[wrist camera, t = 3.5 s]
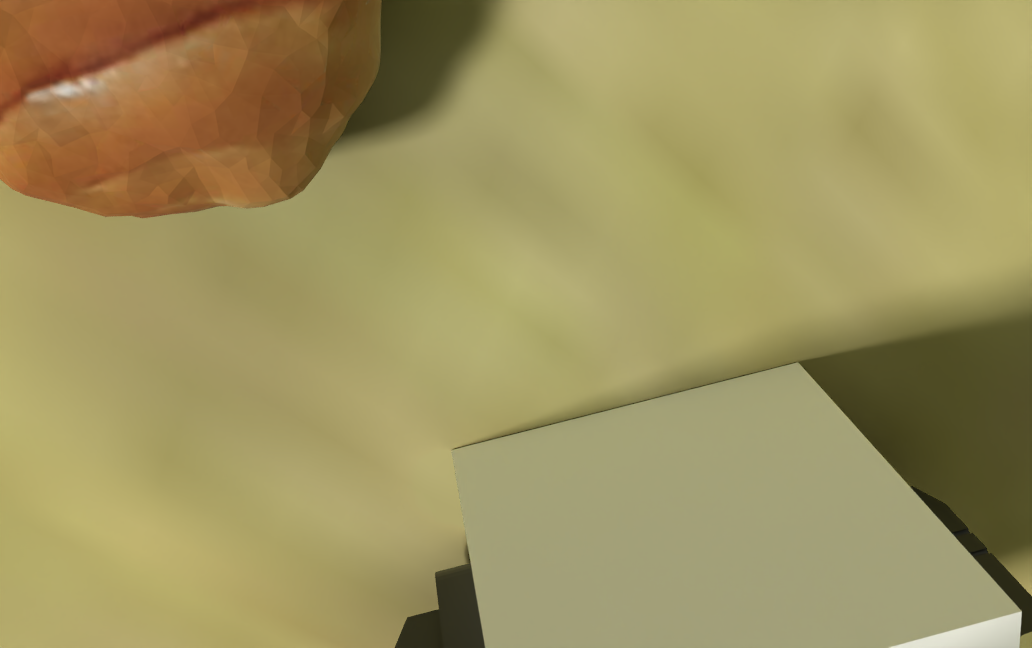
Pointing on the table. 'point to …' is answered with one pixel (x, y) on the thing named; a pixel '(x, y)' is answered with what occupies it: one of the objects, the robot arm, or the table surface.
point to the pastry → (178, 98)
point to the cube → (716, 532)
